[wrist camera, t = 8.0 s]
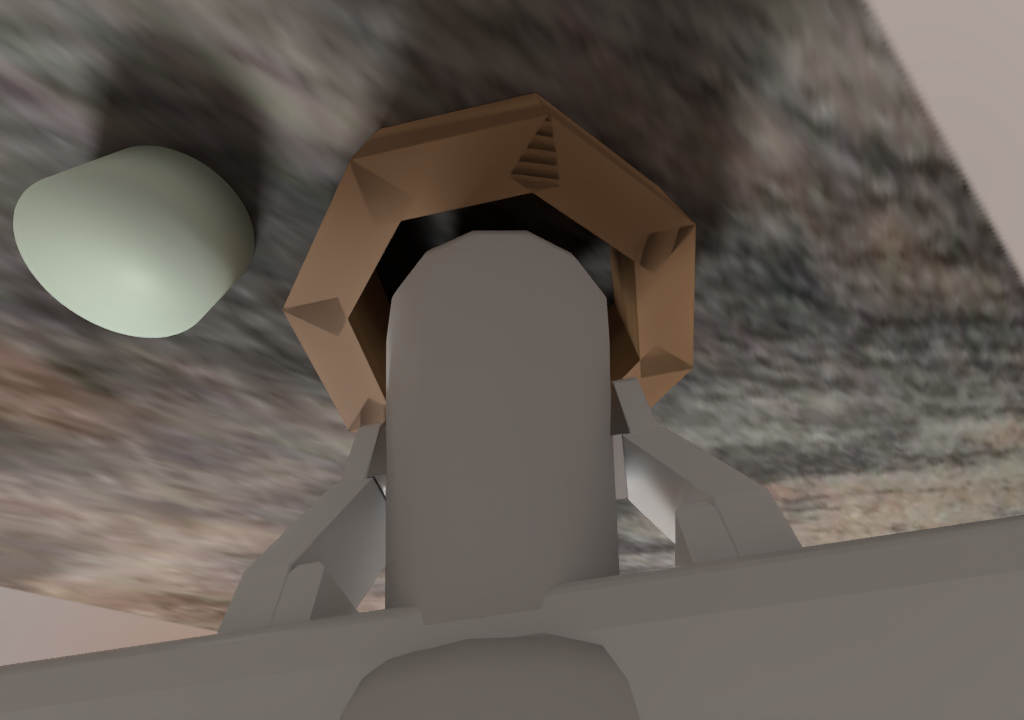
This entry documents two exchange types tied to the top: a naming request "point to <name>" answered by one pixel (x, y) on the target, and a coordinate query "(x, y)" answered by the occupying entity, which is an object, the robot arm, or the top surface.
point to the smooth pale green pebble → (136, 239)
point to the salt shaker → (497, 480)
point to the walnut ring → (475, 180)
